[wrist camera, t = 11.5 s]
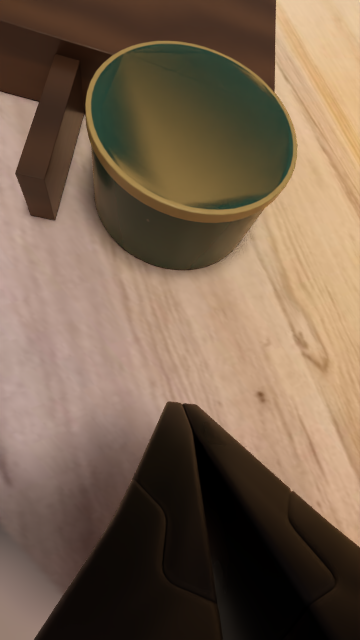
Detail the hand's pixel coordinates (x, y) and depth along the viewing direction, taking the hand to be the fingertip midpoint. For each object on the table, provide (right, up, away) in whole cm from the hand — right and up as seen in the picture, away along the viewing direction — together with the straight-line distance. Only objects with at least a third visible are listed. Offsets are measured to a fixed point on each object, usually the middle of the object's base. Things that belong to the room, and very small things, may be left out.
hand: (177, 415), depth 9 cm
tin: (0, +12, +16) cm, 20 cm away
